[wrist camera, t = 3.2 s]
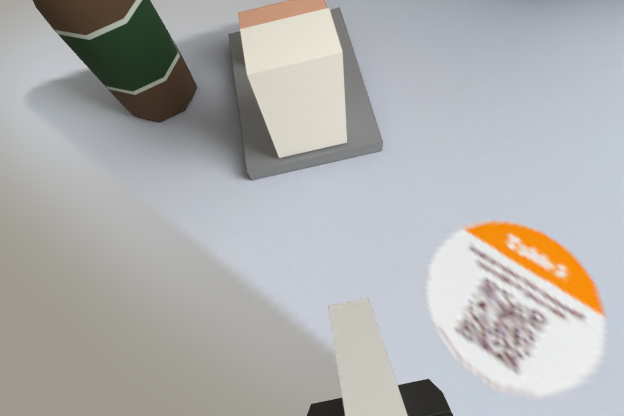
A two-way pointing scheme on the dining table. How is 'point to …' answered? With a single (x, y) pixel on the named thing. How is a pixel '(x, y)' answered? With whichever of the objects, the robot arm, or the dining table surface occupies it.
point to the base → (359, 142)
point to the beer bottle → (125, 52)
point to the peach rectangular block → (279, 11)
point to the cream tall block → (298, 81)
